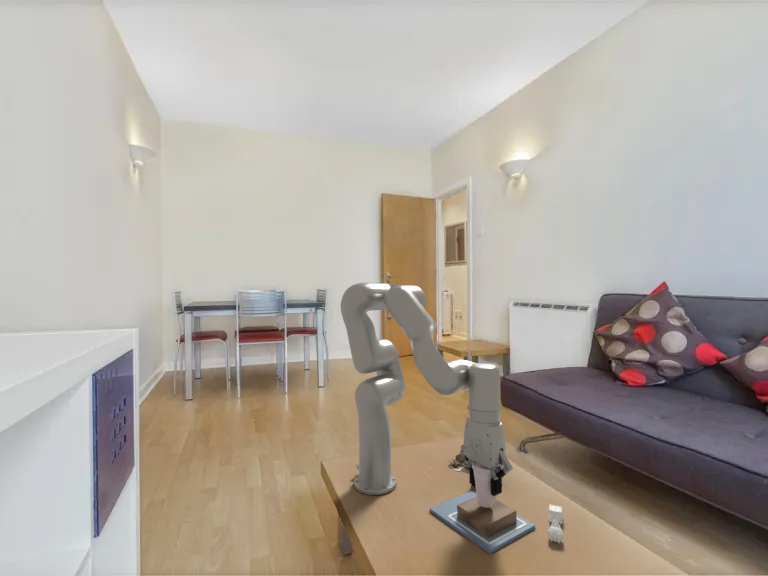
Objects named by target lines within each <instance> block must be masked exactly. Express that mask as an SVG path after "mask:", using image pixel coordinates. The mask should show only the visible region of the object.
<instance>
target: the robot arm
mask: <svg viewBox="0 0 768 576" xmlns="http://www.w3.org/2000/svg"><path fill="white" fill-rule="evenodd" d="M427 301H428V300H427V296H426V294H425V291H424V290H422V288H420V287H419V286H417V285H408V284H407V285H406V284H397V283H396V284H394V283H386V282H359V283H358V282H357V283H354V284H352V285H351V286H349V287H347V289H346V290H345V291H344V292H343V294H342V297H341V301H340V313H341V317H342V320H343V323H344V325H345V330H346V333H347V339H348V345H349V349H350V353H351V358H352V364H353V366H354V368H355V370H356V371H357V372H358V373H359V374H361V375H362V374H364V375H365V374H372V373H376V375H375V376H372V377H369V378H366V379H364V380H362V381H361V382H360V383H359V384H358V385H357V387H356V388H355V391H354V392H355V393H354V400H355V401H354V402H355V405H356V410H357V418H358V463H357V464H356V466H355V467H356V469H357V470H358V475H357V476H356V477H355V479H353V480H354V481H353V487H354V488H355V490H357V491H358V492H359V493H362V494H364V495H371V496H377V495H378V496H379V495H385V494H388V493H390V492H392V491H393V490H395V488H396V487H397V485H398V484H397V478H396V477H395V476H394V475H393V474H392V449H391V448H392V443H391V441H392V437H391V436H392V435H391V432H392V430H391V429H392V428H391V420H390V416H389V414H388V412H387V407H389V406H391V405H394V404H396V403H398V402H400V401H401V400H402V399H403V397H404V395H405V392H406V383H405V378H404V374H403V369H402V364H401V359H400V356H399V352H398V350H397V348H396V346H395V345H394V344H393V342H391V341H390V340H388V339H385V338H379V339H378V338H377V335H376V334H377V333H376V327H375V326H374V322H373V321H372V319H371V318H370V316H369V315H368V313H367V312H369V311H387V312H388V313H389V314H390V315H391V316H392V318H393V319H394V320H395V322H396V323H397V325H398V326H399V327H400V328H401V330H402V331H403V333H404V334H405V336H406V337H407V338H408V339H409V342H410V343H411V352H412V356H413V360H414V363H415V365H416V367H417V369H418V371H419V372H420V373H421V375H422V376H423V378H424V379H425V381H426V382H427V383H428V385H429V386H430V387H431V388H432V389H433V390H434V391H435V392H437V394H440V395H443V396H450V395H453V394H455V393H458V392H459V391H461V390H465V389H468V405H467V408H466V409H467V411H468V416H467V417H466V419H465V425H464V432H463V444H462V445H461V446H460V451H461V450H462V451H463V453H464V456H465V458H466V460H467V462H468V463H467V465H468V467H470V468H469V472H468V473H469V484H470V485H471V484H474V483H475V478H474V470H473V469H472V462H473V461H475V462H477V463H479V464H481V465H484V466H486V467H488V468H490V469H491V473H492V476H493V478H491V495H492V496H494V497H495V496H498V495H500V494H501V493H502V492H503V478H505V476H506V475H507V474H508V473H510V472H511V471H512V470H513V466H512V464H511V463H510V460H509V459H508V457H507V450H506V449H507V448H506V437H505V430H504V427H503V423H502V422H501V372H500V368H499V366H497V365H496V364H492V363H485V362H484V363H483V362H482V363H479V362H478V363H477V362H473V361H470V360H465V359H454V360H452V361H451V360H450V361H446V360H445V359H444V357H443V356H442V355H441V353H440V352H439V350H438V349H437V347H436V344H435V341H434V334H435V331H436V329H437V323H436V321H435V320H434V319H433V317H432V316H431V315H430V314H429V313H428V311H427V310H426V309H425V308H426V305H427ZM501 464H502V465H501ZM496 467H497V470H498V472H496Z"/></svg>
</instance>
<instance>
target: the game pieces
mask: <svg viewBox="0 0 768 576" xmlns="http://www.w3.org/2000/svg"><path fill="white" fill-rule="evenodd" d="M563 516H564V515H563V507H562V506H561V505H553V504H551V503H550V504H549V505H548V521H549V523H551V524H550V526H547V530H546V532H547V538H548V539H550V542H551V543H553V542H554V543H557V544H559V545H560V544H561V542H563V540H564V530H563V529H562V528H561V525H563Z"/></svg>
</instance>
